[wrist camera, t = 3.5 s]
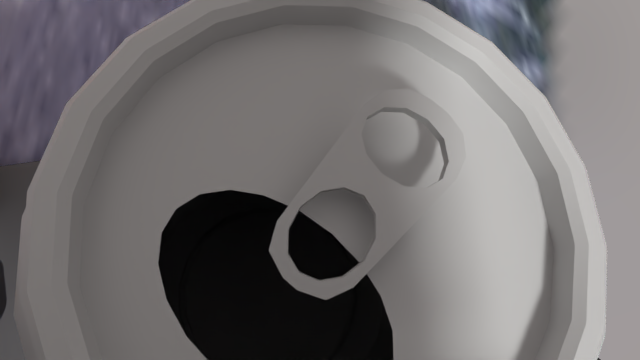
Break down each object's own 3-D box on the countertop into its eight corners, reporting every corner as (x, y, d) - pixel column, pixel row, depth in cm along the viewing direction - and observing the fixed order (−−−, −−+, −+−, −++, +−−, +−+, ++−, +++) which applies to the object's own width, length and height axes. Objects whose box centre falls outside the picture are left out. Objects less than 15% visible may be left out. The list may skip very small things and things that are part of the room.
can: (103, 307, 15) (-297, 254, 4) (260, 146, 18) (304, -178, 6) (281, 468, 15) (432, 961, 3) (416, 280, 17) (773, 191, 6)
